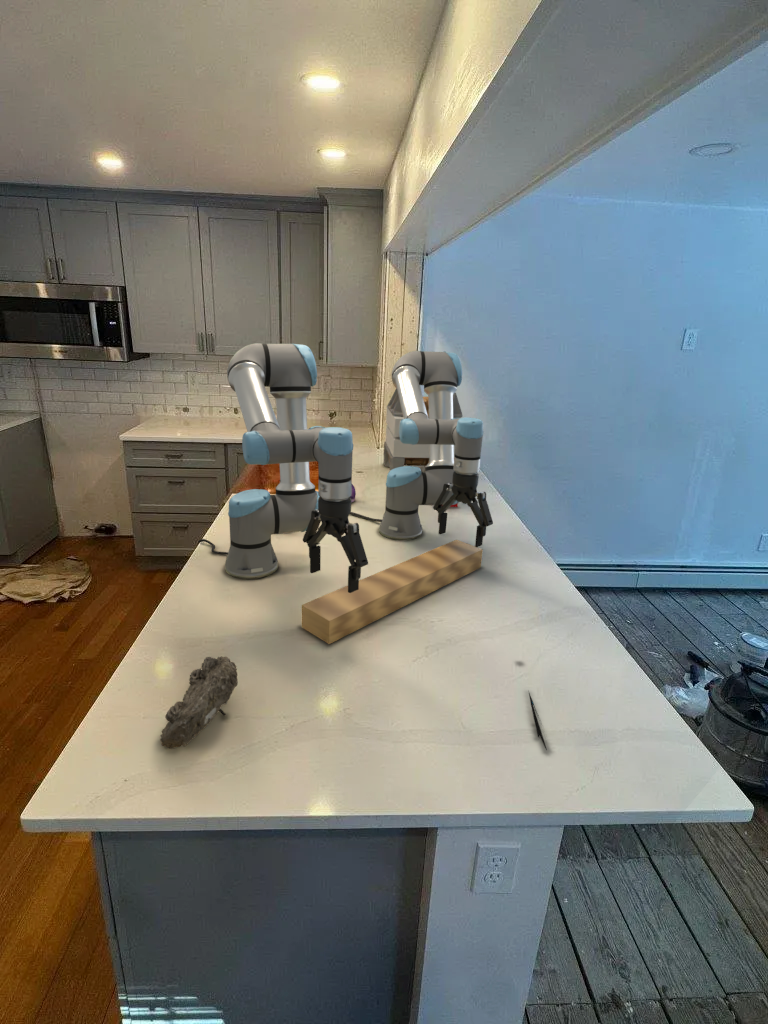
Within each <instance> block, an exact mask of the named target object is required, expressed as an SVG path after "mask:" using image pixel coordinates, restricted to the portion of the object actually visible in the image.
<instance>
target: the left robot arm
mask: <svg viewBox="0 0 768 1024" xmlns="http://www.w3.org/2000/svg"><path fill="white" fill-rule="evenodd" d="M316 363H317V362H316V359H315V356H314V353H313V351H312V349H311V348H310V347H309V346H308V345H305V344H298V343H262V342H261V343H260V342H258V343H257V342H255V343H251V344H247V345H245V346H243V347H242V348H240V349H239V350H237V351H236V352H235V354H234V355H233V356H232V357H231V359H230V360H229V362H228V365H227V369H226V378H227V381H228V384H229V387H230V389H231V390H232V391H234V392H235V395H236V399H237V402H238V405H239V409H240V411H241V415H242V419H243V421H244V425H245V428H246V431H245V432H244V433H243V435H242V440H241V441H242V442H241V443H242V444H241V445H242V447H241V448H242V454H243V460H244V462H245V463H246V464H248V465H261V466H265V465H276V464H277V465H278V464H279V480H280V481H279V482H278V484H277V486H275V494H271V493H270V491H268V490H267V489H263V488H260V489H259V488H253V489H246V490H243V491H240V492H237V493H235V494H234V495H232V496H231V498H230V499H229V501H228V512H227V515H228V518H229V519H228V520H229V521H228V522H229V540H230V541H229V542H230V545H229V549H228V551H218V550H215V549H216V545H215V544H214V543H213V542H212V541H210V540H208V539H205V538H201V539H199V540H198V541H197V543H202V542H204V543H207V544H209V546H211V553H213V554H215V555H225V556H226V559H225V561H224V562H225V563H224V564H225V565H224V569H225V572H226V574H227V575H229V576H231V577H233V578H237V579H244V580H253V579H261V578H266V577H267V576H270V575H272V574H274V573H275V572H277V570H278V567H279V561H278V558H277V554H276V552H275V550H274V549H275V548H274V547H273V545H272V535H280V534H281V535H282V534H289V533H291V534H292V533H304V535H303V538H302V542H303V543H305V544H306V545H307V547H308V557H309V574H315V573H317V572H319V571H321V551H322V550H321V545H320V544H321V543H320V542H321V541H322V540H323V539H324V538H325V536H326V535H328V536H329V535H330V536H332V537H333V538H336V540H337V542H339V543H340V545H341V547H342V550H343V551H344V553H345V555H346V557H347V560H348V561H349V564H350V565H349V566H348V571H347V572H348V573H347V575H348V576H347V586H348V592H349V593H352V592H354V591H356V590H358V589H359V580H361V575H362V574H361V572H362V568H363V567H365V566H368V565H369V561H368V557H367V554H366V551H365V547H364V544H363V540H362V537H361V533H360V525H359V523H358V522H354V523H353V522H350V521H349V517H350V515H351V514H350V513H351V512H352V503H351V498H350V496H351V495H352V484H353V481H352V479H353V478H352V477H353V451H354V441H353V433H352V431H351V430H350V429H349V428H344V427H339V426H338V427H337V426H330V427H329V426H327V427H325V426H322V425H314V426H313V425H312V426H311V427H309V428H308V413H307V411H308V410H307V398H308V397H309V396H310V394H311V393H312V388H313V387H314V386H316V385H317V381H318V378H317V377H318V370H317V369H318V368H317V364H316ZM266 387H268V388H269V394H270V395H271V396H272V397H273V398H274V399H275V407H276V413H275V411H274V407H273V406H272V403H271V400H270V397H269V395H268V392H267V388H266ZM310 462H311V463H312V462H316V463H317V464H318V465H317V466H318V467H317V468H318V473H317V474H318V483H317V484H318V486H317V487H318V489H317V490H316V485H315V484H314V483H312V482H311V479H310V478H311V477H310V475H311V474H310Z"/></svg>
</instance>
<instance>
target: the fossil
mask: <svg viewBox="0 0 768 1024" xmlns="http://www.w3.org/2000/svg"><path fill="white" fill-rule="evenodd" d="M237 667H238V666H237V665H236V663H235V662H234V661H231V659H230V658H229V657H228V656H218V657H217V658H216V657H212V656H206V657H205V658H204V659H203V662H202V663H201V667H200V668H199V667H198V668H195V669H193V670H192V671H191V672H190V674H189V679H188V680H189V682H188V683H189V686H188V687H187V690H186V691H185V694H184V695H183V697H182V701H181V700H180V701H176V702H175V703H174V705H171V706H170V708H169V709H168V710H167V712H166V714H165V715H164V718H165V720H166V721H167V723H166V724H165V727H164V728H162V729H161V734H160V742H161V746H163V747H166V748H167V749H175V748H180V747H183V748H184V747H186V746H187V745H189V743H190V742H191V741H192V740H193V739H195V738H197V736H198V735H199V734H200V733H201V732H202V731H204V730H205V728H207V727H208V725H210V724H211V722H212V721H213V718H214V717H215V716H216V715H218V713H220V714H221V715H222V716H223V717H225V716H226V712H224V710H222V706H223V705H226V704H227V703H228V701H229V700H230V699H231V695H232V694H233V692H234V690H235V688H236V687H238V684H239V681H238V671H237V670H238V668H237Z"/></svg>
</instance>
